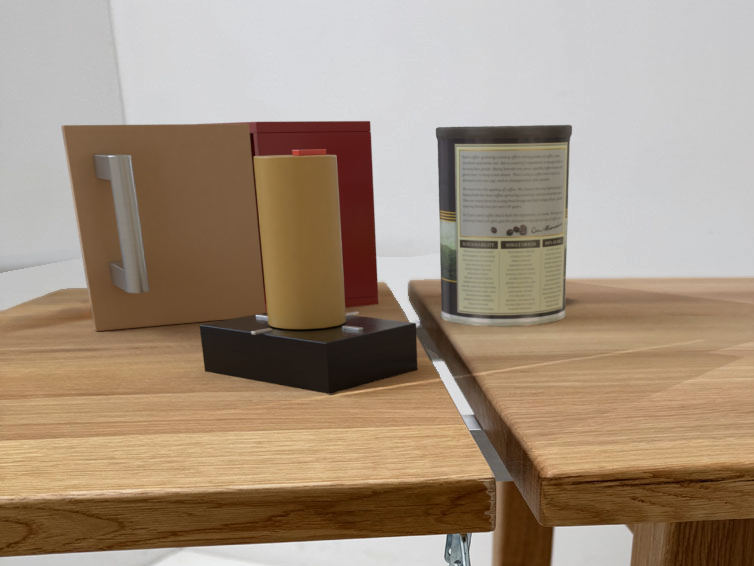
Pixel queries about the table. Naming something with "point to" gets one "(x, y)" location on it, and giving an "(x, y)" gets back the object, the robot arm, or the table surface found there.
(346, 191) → the dark red cabinet
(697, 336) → the table surface
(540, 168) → the coffee can
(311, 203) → the knob
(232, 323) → the dark brown base block
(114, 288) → the door
